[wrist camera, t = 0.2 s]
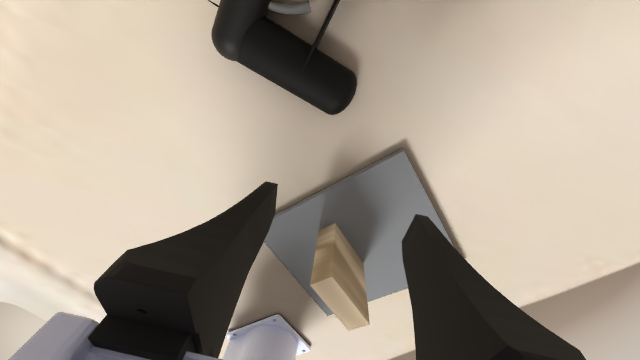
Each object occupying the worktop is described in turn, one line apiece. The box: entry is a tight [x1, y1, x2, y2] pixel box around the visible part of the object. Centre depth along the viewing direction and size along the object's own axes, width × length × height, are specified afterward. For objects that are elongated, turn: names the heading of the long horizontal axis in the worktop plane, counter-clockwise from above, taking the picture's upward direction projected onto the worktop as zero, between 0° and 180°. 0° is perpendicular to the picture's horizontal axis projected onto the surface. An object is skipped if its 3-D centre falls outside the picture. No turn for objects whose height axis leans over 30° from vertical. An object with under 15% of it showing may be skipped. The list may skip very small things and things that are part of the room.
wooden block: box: [310, 223, 369, 331], centre depth 23 cm, size 2×6×7 cm, turn 32°
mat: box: [264, 148, 454, 316], centre depth 26 cm, size 17×15×1 cm
